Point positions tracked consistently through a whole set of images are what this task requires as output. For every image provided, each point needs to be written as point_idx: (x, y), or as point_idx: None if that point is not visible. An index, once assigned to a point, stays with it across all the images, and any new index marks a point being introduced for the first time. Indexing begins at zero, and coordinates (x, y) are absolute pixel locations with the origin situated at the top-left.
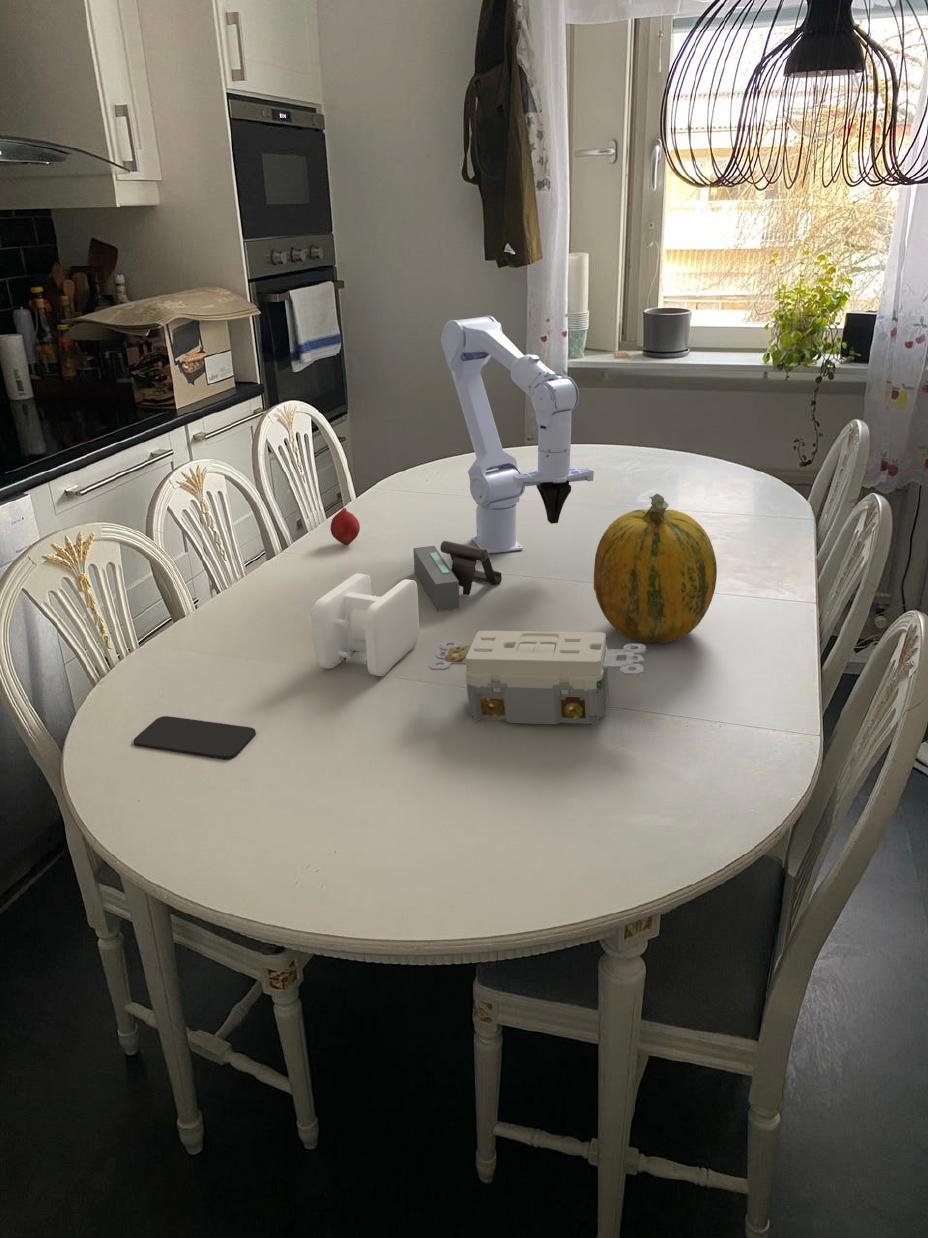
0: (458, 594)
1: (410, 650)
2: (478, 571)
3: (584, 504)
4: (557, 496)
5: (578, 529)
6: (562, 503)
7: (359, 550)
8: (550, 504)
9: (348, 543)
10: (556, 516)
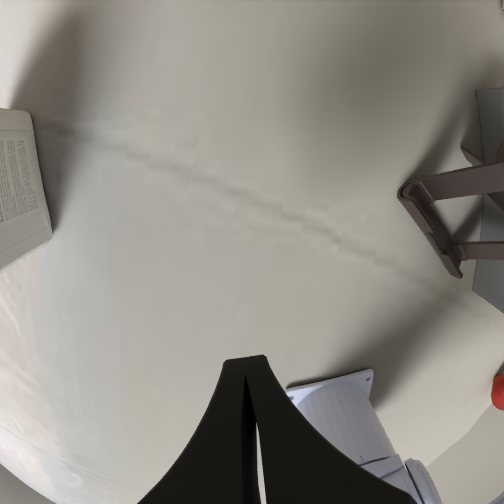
0: (497, 88)
1: (502, 5)
2: (438, 244)
3: (146, 491)
4: (245, 502)
5: (151, 446)
6: (196, 449)
7: (496, 364)
8: (306, 436)
9: (498, 376)
10: (237, 380)
